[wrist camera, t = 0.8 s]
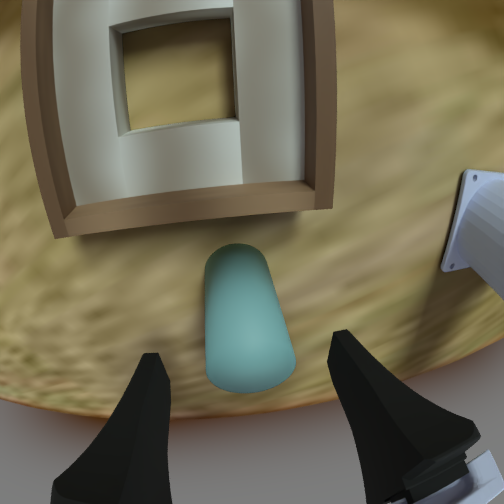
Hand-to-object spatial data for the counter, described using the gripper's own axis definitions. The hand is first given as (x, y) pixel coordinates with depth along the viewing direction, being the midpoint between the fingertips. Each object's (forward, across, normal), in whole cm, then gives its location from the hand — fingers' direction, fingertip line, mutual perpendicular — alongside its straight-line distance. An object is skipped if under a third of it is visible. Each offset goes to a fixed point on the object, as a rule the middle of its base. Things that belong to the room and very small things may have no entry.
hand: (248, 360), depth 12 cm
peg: (+6, 0, 0) cm, 7 cm away
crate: (+6, +2, -12) cm, 14 cm away
